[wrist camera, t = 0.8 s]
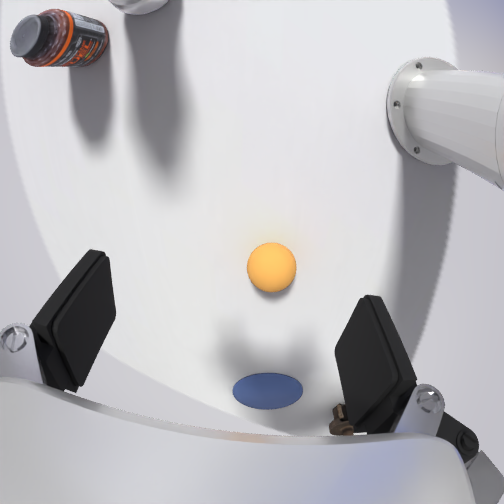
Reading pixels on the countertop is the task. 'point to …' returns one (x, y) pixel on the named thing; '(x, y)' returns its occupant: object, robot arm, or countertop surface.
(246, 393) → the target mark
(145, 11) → the plastic bottle
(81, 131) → the countertop surface
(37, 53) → the supplement bottle
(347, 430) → the industrial component
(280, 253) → the ball
